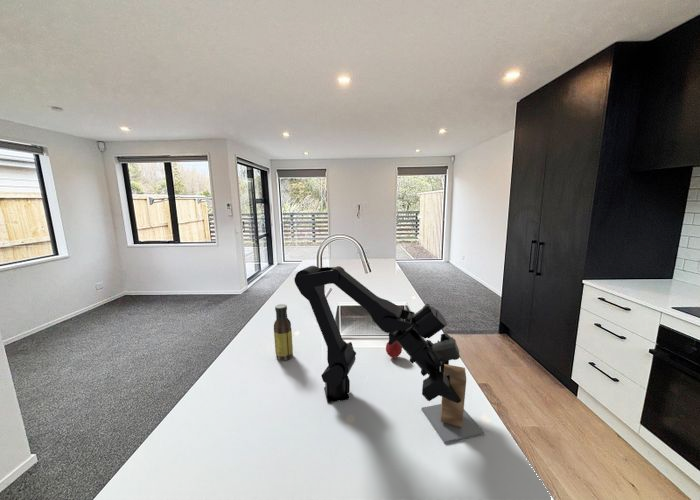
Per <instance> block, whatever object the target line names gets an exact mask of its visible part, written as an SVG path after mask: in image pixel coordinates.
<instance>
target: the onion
mask: <svg viewBox="0 0 700 500" xmlns="http://www.w3.org/2000/svg"><path fill="white" fill-rule="evenodd" d="M402 351H403V348H402V347H401V346H400V345H399V343H398V342H397V341H396V342H394V343H393V344H391V345H389V341H388V342H386V345H385V352H386V354H387V355H388V356H389V357H390V358H392V359H396V358H397V357H399V356H400V355H401V354H402Z"/></svg>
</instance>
